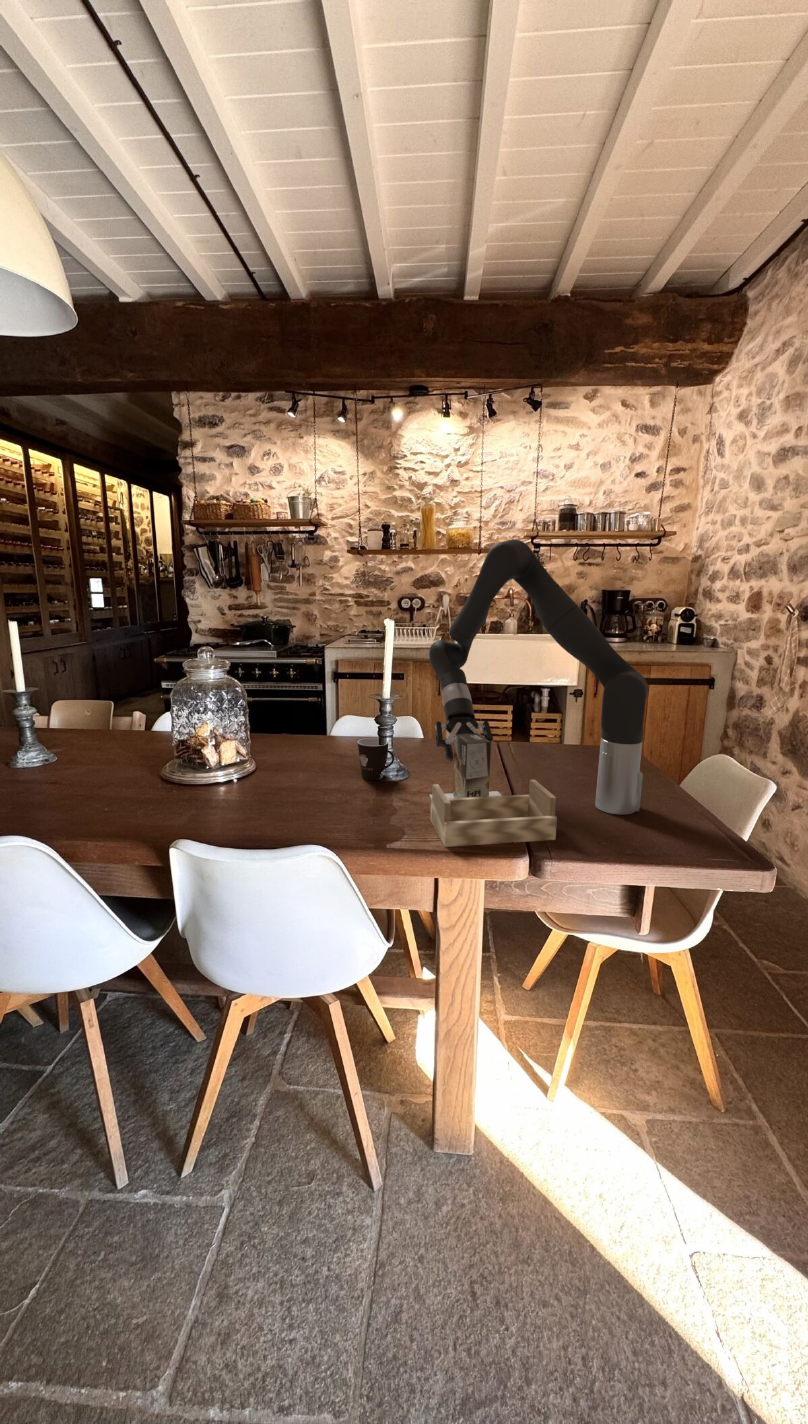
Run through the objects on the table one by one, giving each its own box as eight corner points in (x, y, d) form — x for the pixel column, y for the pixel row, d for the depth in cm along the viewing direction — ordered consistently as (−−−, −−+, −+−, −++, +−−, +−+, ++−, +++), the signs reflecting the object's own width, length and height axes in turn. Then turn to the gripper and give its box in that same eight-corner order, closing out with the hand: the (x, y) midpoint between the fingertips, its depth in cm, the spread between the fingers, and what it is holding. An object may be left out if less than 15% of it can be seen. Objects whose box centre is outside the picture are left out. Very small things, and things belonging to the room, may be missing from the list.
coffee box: (489, 806, 140) (492, 741, 137) (464, 808, 139) (467, 743, 135) (475, 793, 149) (477, 732, 146) (451, 795, 147) (453, 733, 144)
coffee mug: (353, 773, 165) (353, 739, 163) (382, 770, 168) (383, 736, 166) (366, 786, 155) (366, 750, 152) (396, 783, 158) (397, 747, 155)
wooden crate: (530, 814, 137) (532, 777, 135) (555, 839, 124) (558, 799, 122) (430, 820, 133) (431, 782, 131) (445, 846, 120) (446, 805, 118)
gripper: (433, 696, 148) (442, 753, 140) (487, 695, 151) (499, 751, 142) (428, 712, 155) (437, 767, 146) (480, 711, 157) (491, 765, 149)
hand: (468, 759), depth 144 cm, fingers open, 8 cm apart
